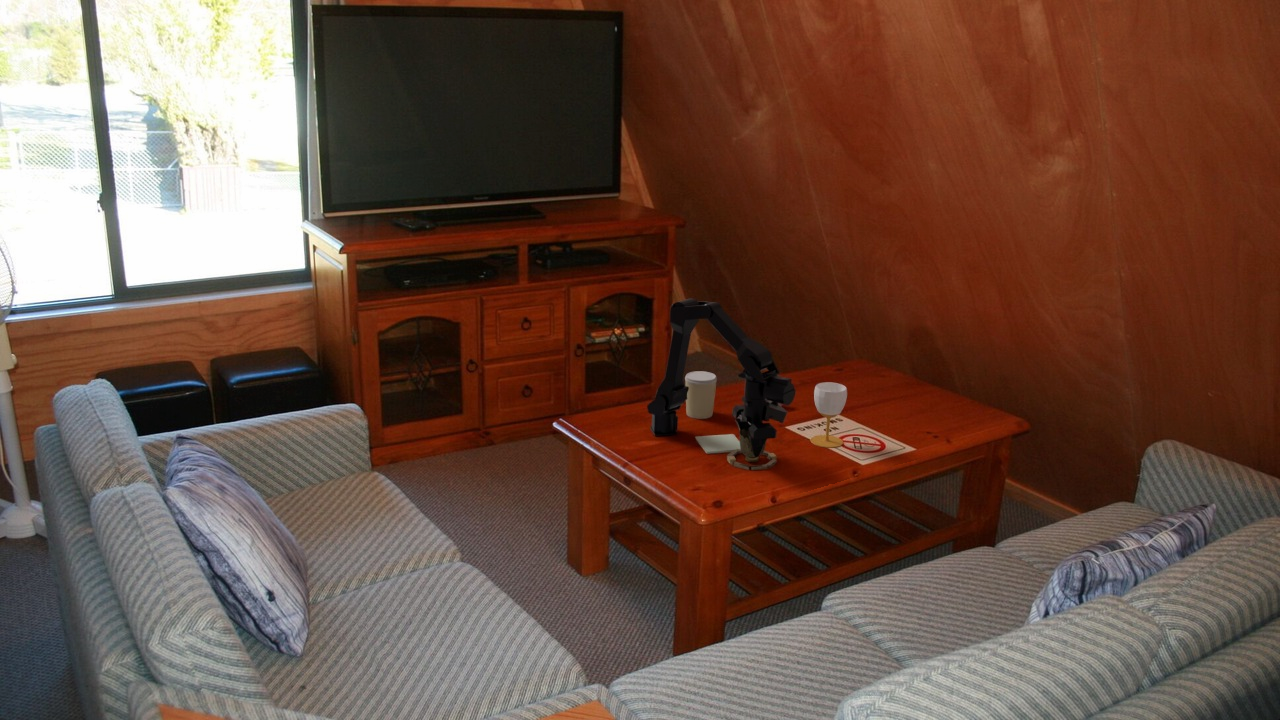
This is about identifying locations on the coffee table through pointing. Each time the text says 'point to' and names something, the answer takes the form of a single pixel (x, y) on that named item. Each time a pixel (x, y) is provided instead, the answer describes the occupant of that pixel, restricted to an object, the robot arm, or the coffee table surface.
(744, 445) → the cup
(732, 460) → the ring
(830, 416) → the cup
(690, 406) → the coffee cup
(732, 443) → the felt pad
